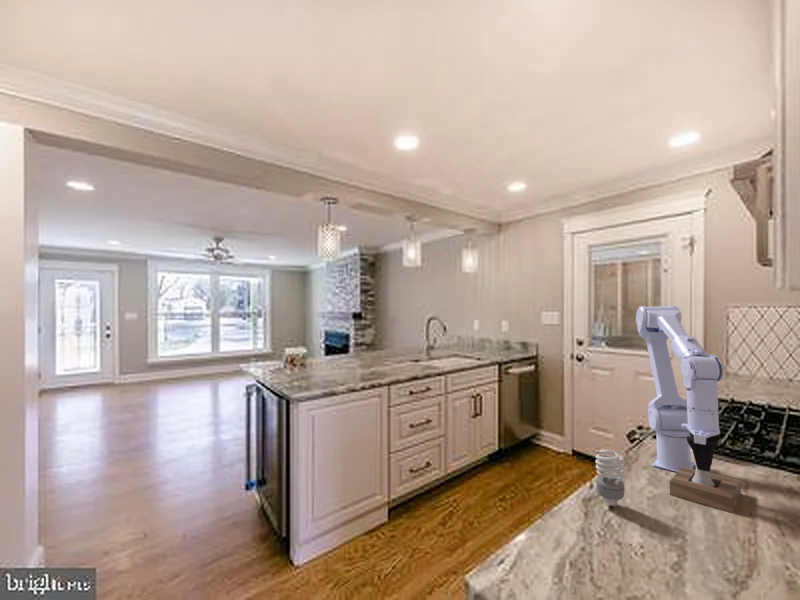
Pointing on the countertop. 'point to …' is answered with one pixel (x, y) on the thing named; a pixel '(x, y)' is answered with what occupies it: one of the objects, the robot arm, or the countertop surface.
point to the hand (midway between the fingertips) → (704, 467)
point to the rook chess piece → (702, 477)
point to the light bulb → (610, 476)
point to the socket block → (706, 489)
